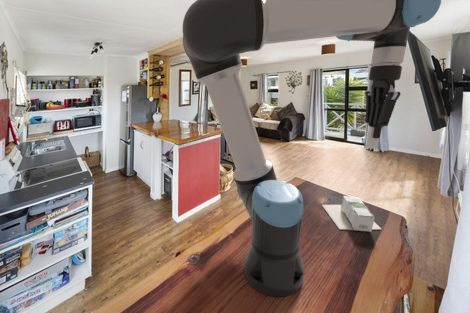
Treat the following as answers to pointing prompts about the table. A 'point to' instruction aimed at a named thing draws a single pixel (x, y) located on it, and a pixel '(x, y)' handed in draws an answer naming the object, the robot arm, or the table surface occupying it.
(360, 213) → the syrup box
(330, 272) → the table surface
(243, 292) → the table surface
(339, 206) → the mat
